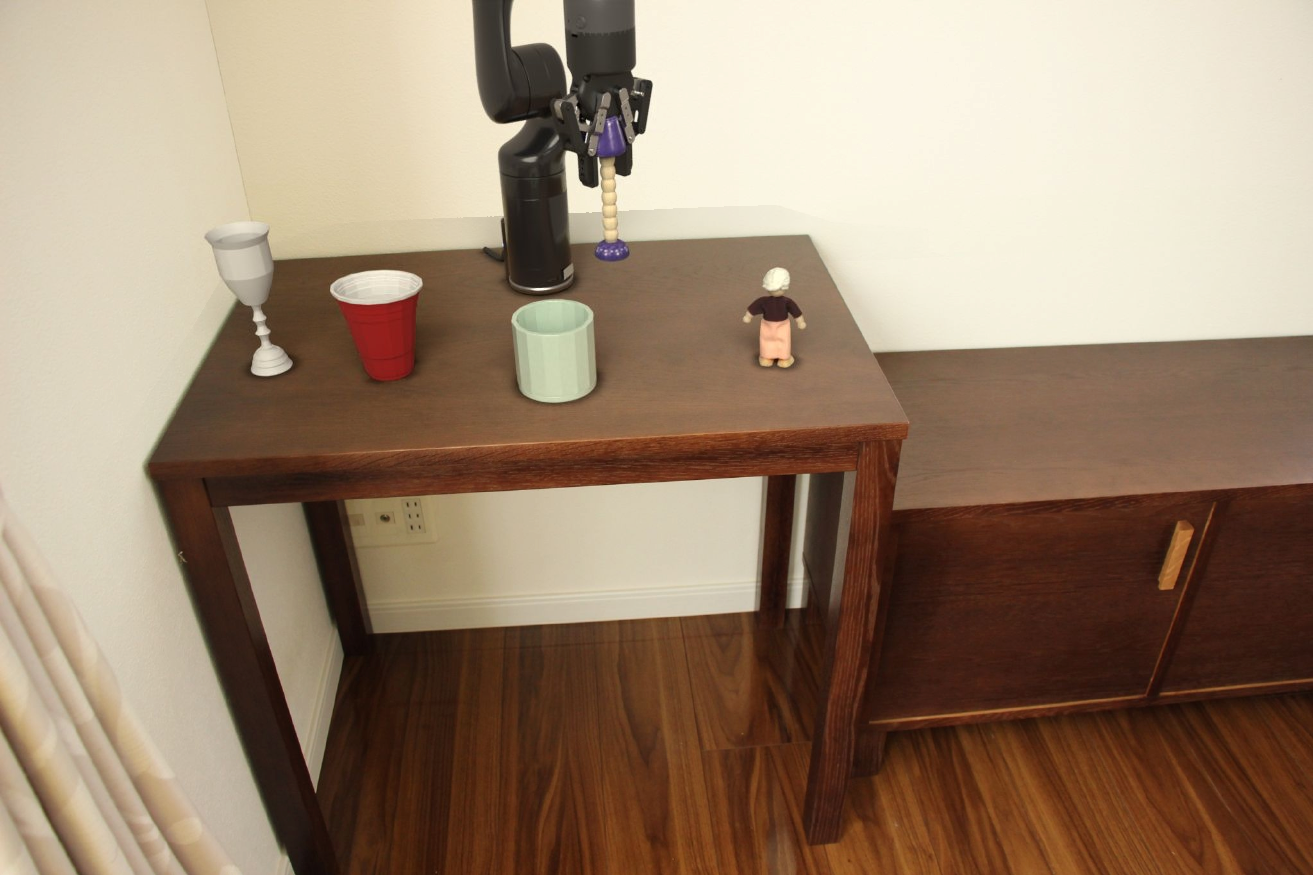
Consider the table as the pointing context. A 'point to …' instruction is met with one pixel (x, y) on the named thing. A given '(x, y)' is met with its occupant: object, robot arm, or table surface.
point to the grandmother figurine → (775, 319)
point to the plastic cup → (381, 319)
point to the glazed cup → (554, 350)
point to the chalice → (250, 282)
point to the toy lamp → (610, 190)
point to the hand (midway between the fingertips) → (606, 179)
